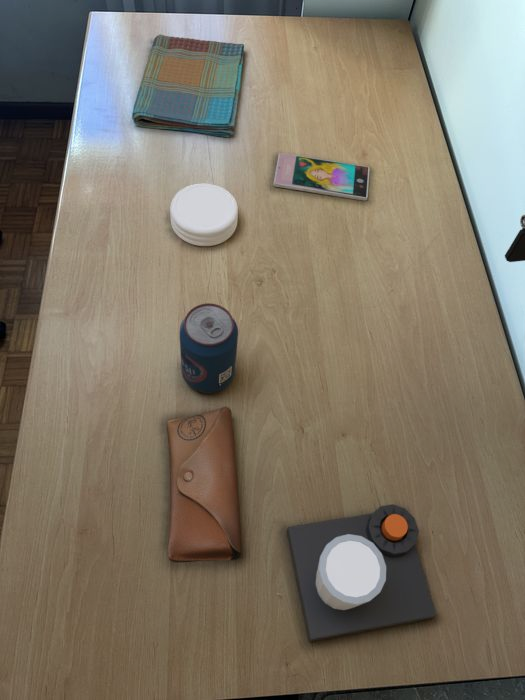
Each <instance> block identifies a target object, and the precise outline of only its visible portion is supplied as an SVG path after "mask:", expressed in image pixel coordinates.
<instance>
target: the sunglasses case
mask: <svg viewBox="0 0 525 700" xmlns="http://www.w3.org/2000/svg"><path fill="white" fill-rule="evenodd" d="M232 415H233V414H232V410H231V408H230V407H228V406H223V407H221V408H218V409H214V410H210V411H207V412H203V413H199V414H195V415H191V416H189V417H180V418H179V417H178V418H177V417H175V418H170V419H168V420H167V421H166V432H167V443H168V452H169V453H168V455H169V496H170V497H169V498H170V499H169V530H168V544H167V558H168V559H169V560H171V561H173V562H214V561H216V562H217V561H233V560H236V559H238V558H240V557H241V556H242V555H243V550H242V531H241V513H240V501H239V499H240V497H239V487H238V485H239V484H238V474H237V473H238V471H237V460H236V459H237V458H236V447H235V446H236V445H235V431H234V423H233V416H232Z"/></svg>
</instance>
